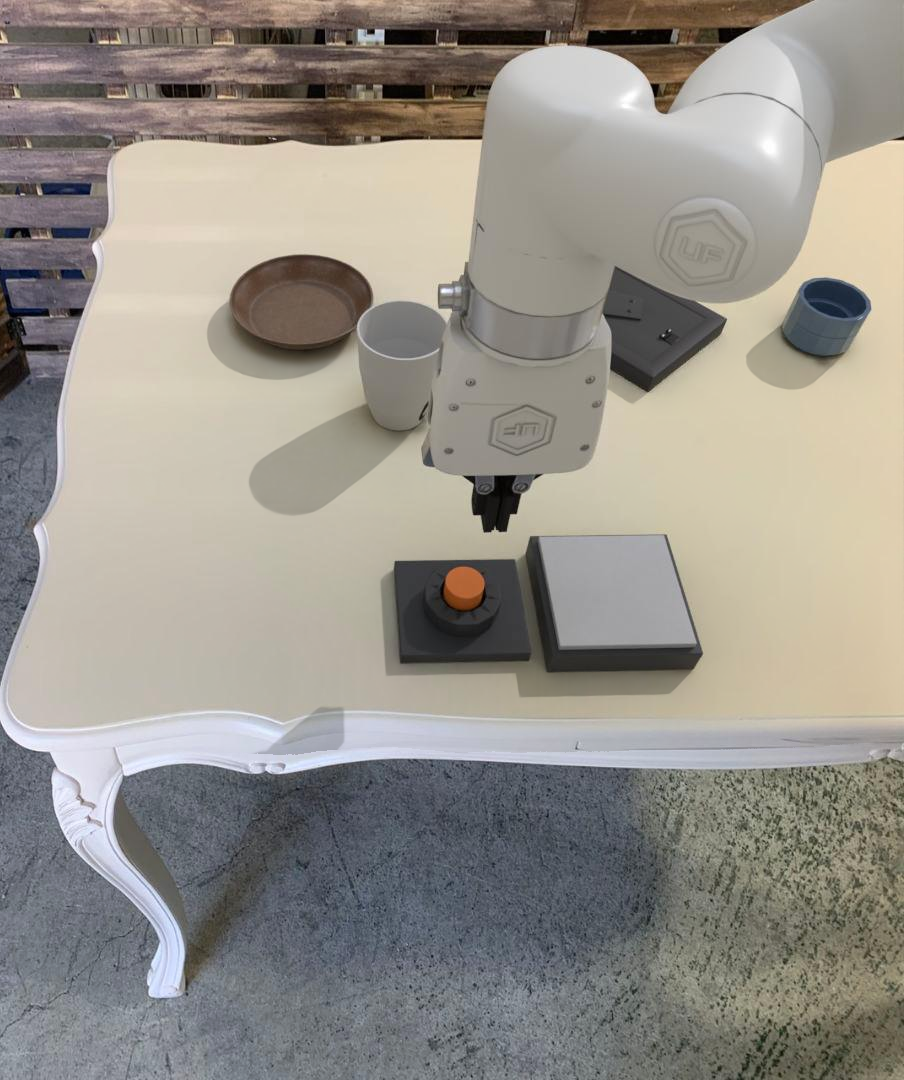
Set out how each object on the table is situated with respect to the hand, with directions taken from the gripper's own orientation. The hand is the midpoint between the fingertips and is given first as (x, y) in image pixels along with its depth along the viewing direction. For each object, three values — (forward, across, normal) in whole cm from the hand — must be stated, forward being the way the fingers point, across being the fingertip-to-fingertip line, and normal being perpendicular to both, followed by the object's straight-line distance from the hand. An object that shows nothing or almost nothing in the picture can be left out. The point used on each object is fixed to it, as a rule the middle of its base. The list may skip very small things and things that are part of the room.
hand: (491, 516), depth 63 cm
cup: (+12, -5, +23) cm, 26 cm away
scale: (+12, +11, 0) cm, 16 cm away
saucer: (+11, -14, +37) cm, 41 cm away
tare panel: (+12, -1, 0) cm, 12 cm away
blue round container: (+12, +40, +33) cm, 53 cm away
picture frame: (+12, +19, +36) cm, 43 cm away
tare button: (+9, -1, 0) cm, 9 cm away
